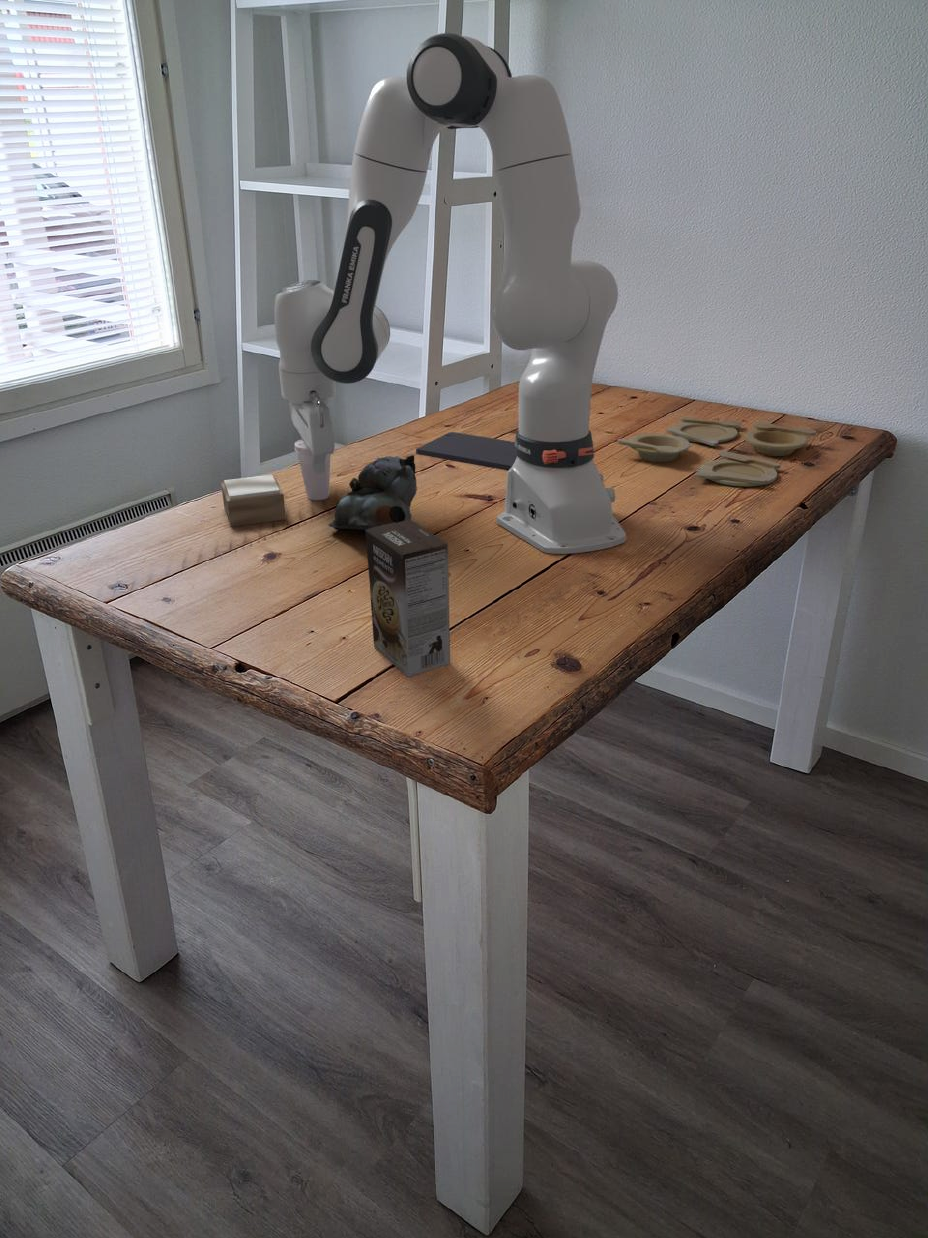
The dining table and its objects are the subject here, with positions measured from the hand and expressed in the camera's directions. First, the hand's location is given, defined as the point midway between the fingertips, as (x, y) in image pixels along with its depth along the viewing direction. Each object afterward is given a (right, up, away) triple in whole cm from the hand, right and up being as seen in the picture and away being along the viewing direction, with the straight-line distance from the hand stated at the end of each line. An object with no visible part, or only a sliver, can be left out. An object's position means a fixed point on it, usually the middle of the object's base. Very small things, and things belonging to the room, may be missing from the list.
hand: (315, 465), depth 171 cm
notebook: (+29, +5, +22) cm, 37 cm away
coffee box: (+19, -31, -47) cm, 59 cm away
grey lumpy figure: (+11, -12, -11) cm, 20 cm away
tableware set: (+74, +5, +19) cm, 76 cm away
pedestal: (-10, -9, -4) cm, 13 cm away
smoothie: (0, -5, +3) cm, 6 cm away
